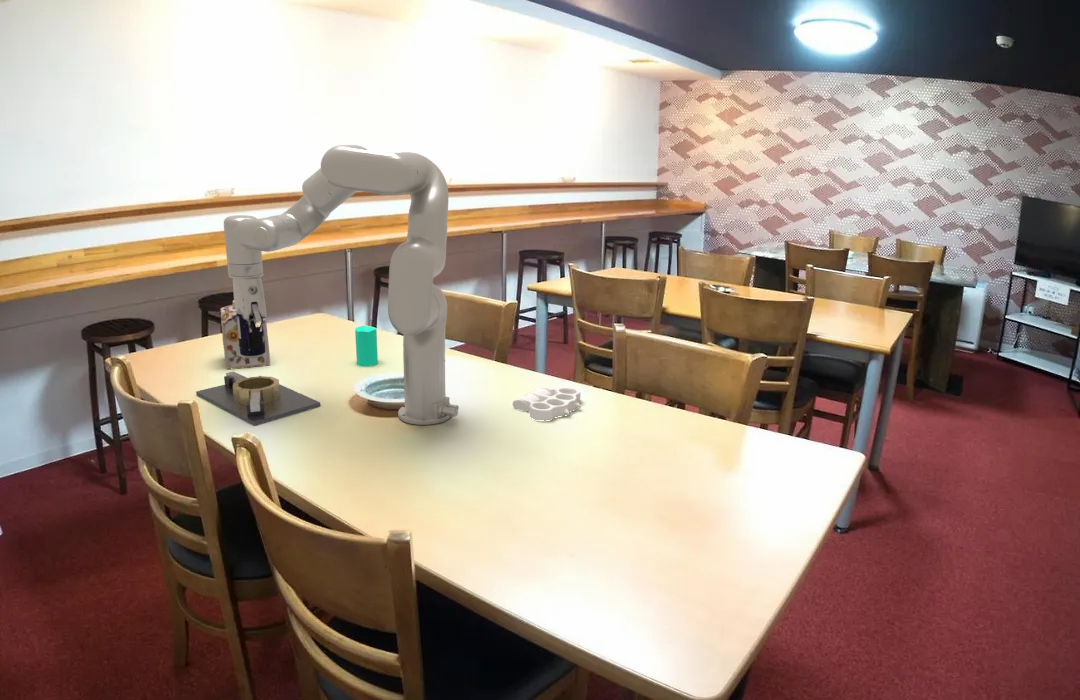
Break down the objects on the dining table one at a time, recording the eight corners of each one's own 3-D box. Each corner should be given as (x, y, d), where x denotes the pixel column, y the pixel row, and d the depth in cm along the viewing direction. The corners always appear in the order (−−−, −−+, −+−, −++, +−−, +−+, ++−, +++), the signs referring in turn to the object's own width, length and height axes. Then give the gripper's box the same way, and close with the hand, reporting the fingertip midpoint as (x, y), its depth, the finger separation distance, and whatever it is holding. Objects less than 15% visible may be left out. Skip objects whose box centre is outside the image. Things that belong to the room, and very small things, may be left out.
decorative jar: (224, 358, 203) (218, 297, 198) (267, 354, 208) (262, 295, 203) (225, 370, 193) (219, 306, 188) (270, 366, 198) (265, 303, 193)
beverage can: (248, 360, 165) (244, 311, 161) (235, 355, 168) (230, 307, 165) (270, 355, 169) (266, 307, 166) (257, 351, 172) (253, 303, 169)
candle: (354, 361, 204) (352, 321, 200) (375, 359, 206) (374, 319, 203) (358, 367, 199) (356, 326, 195) (380, 365, 201) (378, 324, 198)
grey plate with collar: (320, 406, 170) (319, 388, 168) (254, 425, 157) (252, 407, 156) (260, 379, 187) (259, 363, 185) (196, 395, 174) (194, 378, 173)
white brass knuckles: (544, 393, 184) (593, 405, 177) (504, 414, 169) (556, 428, 162) (544, 381, 183) (594, 392, 176) (505, 401, 168) (557, 414, 161)
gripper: (273, 274, 158) (279, 351, 163) (251, 262, 171) (257, 334, 177) (238, 277, 154) (245, 356, 159) (219, 265, 167) (226, 338, 172)
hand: (252, 343), depth 168 cm, fingers closed on beverage can, 5 cm apart
